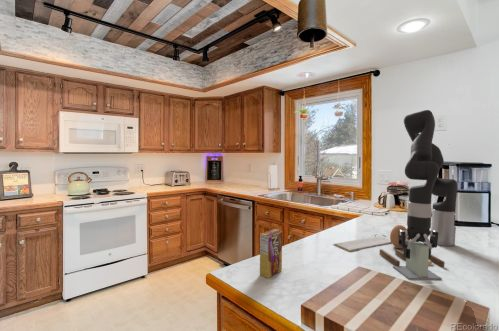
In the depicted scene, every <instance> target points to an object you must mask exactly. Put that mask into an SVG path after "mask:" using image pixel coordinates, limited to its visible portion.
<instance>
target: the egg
mask: <svg viewBox="0 0 499 331" xmlns="http://www.w3.org/2000/svg"><path fill="white" fill-rule="evenodd" d="M399 230H402V231H404V230H407V228H406V227H405V226H404V225H402V224H400V225H399V224H398V225H395V226H394V227H393V228H392V230H391V231H390V234H389V235H390V236H389V240H391V244H392V245H393V247H395V248H396V249H397V250H399V249H400V250H402V249H403V250H404V247H402V246H400V245H399V244H398V231H399ZM407 236H408V234H407ZM407 236H405V239H406V238H407ZM405 241H406V240H405Z"/></svg>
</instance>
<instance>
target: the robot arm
mask: <svg viewBox="0 0 499 331" xmlns="http://www.w3.org/2000/svg"><path fill="white" fill-rule="evenodd" d="M403 124H404V128H405V130H406V132H407V134H408V136H409V138H410V139H411V142H412V143H411V145H410V157H409V159H408V161H407V162H406V165H405V166H404V167H405V168H404V175H405V177H406V178H408V179H409V180H413V181H414V180H415V181H417V180H418V181H425V183H423V184H421V185H414V186H411V187H410V188H409V189H408V191H409V192H408V204H407V213H406V216H407V217H406V218H407V219H406V225H407V228H406V229H407V230H404V231H402V230H399V231H398V244H399V245H400V246H402V247H404V248H403V253H404V256H405V258H407V259H410V247H411V246H412V245H413V244H414V243H415V242H421V243H423V244H425V245H427V246H429V259H430V257H431V255H432V250H433V249H434V248H437V247H438V246H444V247H453V246H455V245H456V233H457V231H456V229H457V227H456V226H455V217H456V216H455V212H456V206H457V194H458V182H457V181H456V179H449V178H441V177H440V178H439V177H438V176H439V172H440V169H442V167H443V165H444V156H443V154H442V151H441V149H440V148H439V146H437V145H436V144H435V143H433V138H434V136H435V134H434V133H435V129H436V120H435V117H434V114H433V112H432V111H431V110H430V109H428V110H427V109H424V110H420V111H417V112H413V113H411V114H407V115H405V116H404V118H403ZM432 196H436V197H441V198H445V199H444V200H443V201H440V202H434V203H433V204H432V198H433V197H432ZM407 234H408V236H407ZM405 236H407V238H406V239H405ZM410 239H411V241H410ZM405 240H406V241H405Z"/></svg>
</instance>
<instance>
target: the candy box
mask: <svg viewBox="0 0 499 331" xmlns="http://www.w3.org/2000/svg"><path fill="white" fill-rule="evenodd" d="M281 271H283V230H280V229H276V228H273V229H270V230H267V231H265V232H262V233H260V234H259V276H262V277H264V278H266V279H270V278H272V277H273V276H274V275H276V274H278V273H279V272H281Z"/></svg>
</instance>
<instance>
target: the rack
mask: <svg viewBox="0 0 499 331" xmlns="http://www.w3.org/2000/svg"><path fill="white" fill-rule="evenodd" d="M379 255H380V256H381V257H382V258H384V259H385V260H386V261H388V262H389V263H391V264H392V265H393V266H401V261H400V260H399V259H397V258H396V257H395V256H397V257H398V258H400V259H401V260H403V261H404V262H406V258H405V256H404V251H401V249H400V250H399V249H395V256H393V255H392V254H390V253H389V252H386V250H384V249H382V248H381V249H380V248H379ZM429 260H430V261H432V264H434V265H436V266H438V267H440V268H445V261H444V260H442V259H440V258H439V257H437V256H434V255H433V254H431V257H430V259H429Z"/></svg>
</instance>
